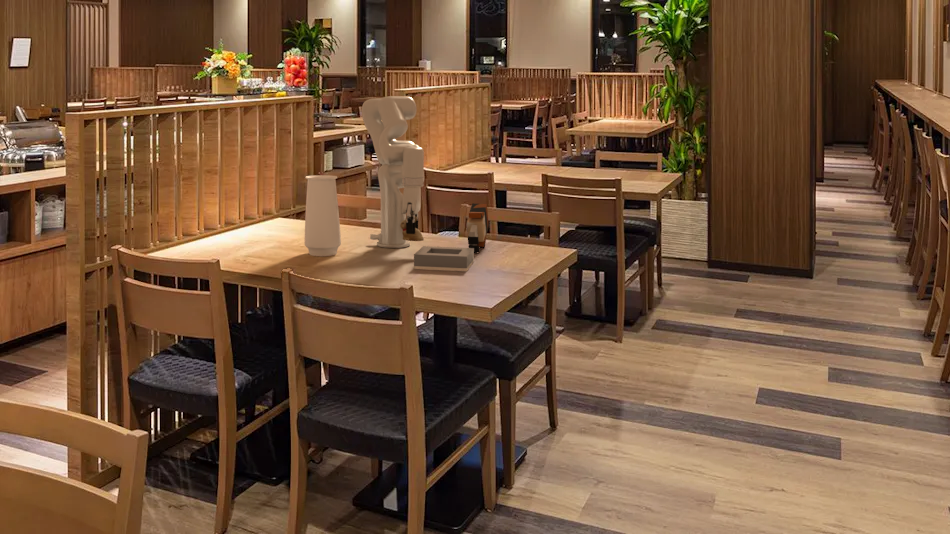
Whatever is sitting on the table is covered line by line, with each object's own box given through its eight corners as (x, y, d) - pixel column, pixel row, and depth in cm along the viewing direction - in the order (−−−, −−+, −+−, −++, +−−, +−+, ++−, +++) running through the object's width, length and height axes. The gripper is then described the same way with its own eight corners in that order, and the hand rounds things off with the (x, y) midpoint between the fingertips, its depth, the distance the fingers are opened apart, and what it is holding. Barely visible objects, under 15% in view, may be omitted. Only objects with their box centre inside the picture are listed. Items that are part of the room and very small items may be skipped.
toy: (476, 228, 324) (486, 198, 340) (461, 227, 325) (471, 198, 341) (480, 263, 334) (489, 232, 349) (465, 262, 335) (474, 232, 350)
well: (413, 269, 300) (413, 254, 299) (423, 260, 316) (423, 246, 315) (466, 271, 298) (467, 256, 297) (473, 262, 313) (473, 248, 312)
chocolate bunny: (409, 237, 327) (409, 210, 324) (425, 240, 322) (425, 213, 320) (398, 239, 322) (399, 211, 320) (414, 242, 318) (415, 214, 315)
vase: (301, 251, 328) (299, 175, 323) (336, 249, 333) (334, 174, 328) (309, 258, 317) (307, 179, 311) (345, 255, 322) (343, 178, 316)
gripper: (407, 178, 326) (407, 227, 330) (397, 184, 310) (396, 236, 314) (427, 179, 325) (426, 228, 329) (418, 185, 309) (417, 237, 313)
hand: (412, 231), depth 321 cm, fingers closed on chocolate bunny, 4 cm apart
